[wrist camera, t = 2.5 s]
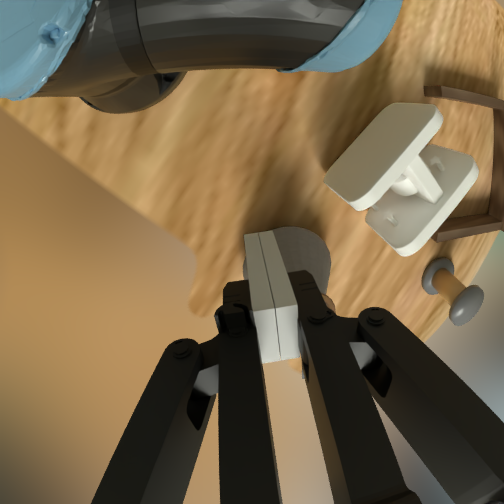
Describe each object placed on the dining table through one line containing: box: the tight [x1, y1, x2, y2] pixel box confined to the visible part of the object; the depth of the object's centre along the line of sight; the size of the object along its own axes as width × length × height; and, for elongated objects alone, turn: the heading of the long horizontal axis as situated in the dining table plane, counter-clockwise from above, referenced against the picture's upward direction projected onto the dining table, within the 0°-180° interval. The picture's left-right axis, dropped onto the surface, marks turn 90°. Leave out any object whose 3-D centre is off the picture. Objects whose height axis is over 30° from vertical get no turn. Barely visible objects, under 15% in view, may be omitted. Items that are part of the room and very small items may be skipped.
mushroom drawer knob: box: [422, 257, 484, 326], centre depth 39 cm, size 7×7×10 cm
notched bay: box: [424, 86, 504, 242], centre depth 30 cm, size 22×18×9 cm
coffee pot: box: [243, 226, 335, 312], centre depth 34 cm, size 21×12×15 cm, turn 54°
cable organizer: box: [323, 103, 479, 256], centre depth 29 cm, size 15×11×12 cm
